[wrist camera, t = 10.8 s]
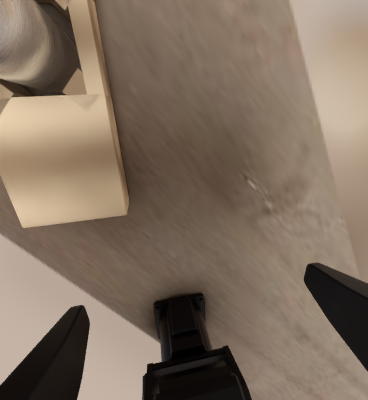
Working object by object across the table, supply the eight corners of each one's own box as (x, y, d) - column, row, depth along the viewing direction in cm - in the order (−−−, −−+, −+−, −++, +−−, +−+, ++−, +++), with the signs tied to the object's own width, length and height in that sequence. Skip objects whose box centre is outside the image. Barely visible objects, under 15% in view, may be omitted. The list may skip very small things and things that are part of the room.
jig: (129, 201, 19) (126, 215, 17) (41, 211, 18) (22, 228, 16) (91, -17, 13) (77, -52, 11) (-46, -22, 12) (-101, -63, 9)
